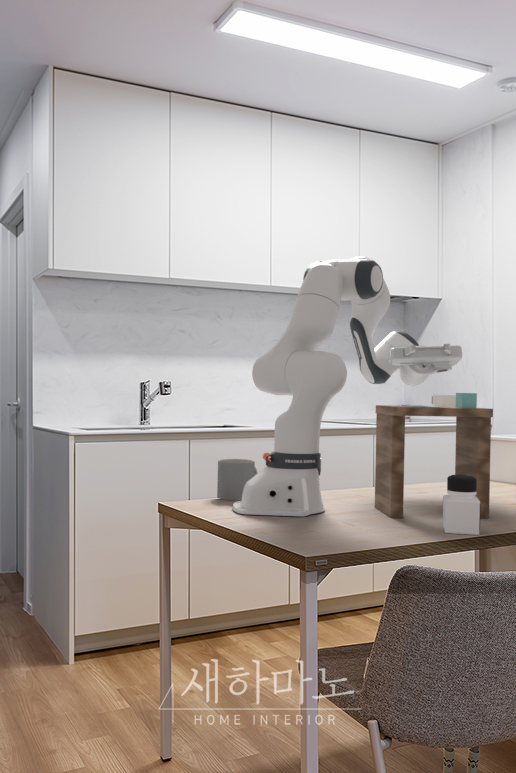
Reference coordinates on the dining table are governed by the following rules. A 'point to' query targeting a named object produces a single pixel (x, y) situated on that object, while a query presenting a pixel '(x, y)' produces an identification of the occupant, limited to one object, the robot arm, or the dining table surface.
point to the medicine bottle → (461, 506)
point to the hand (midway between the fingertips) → (430, 346)
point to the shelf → (468, 459)
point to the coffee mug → (234, 477)
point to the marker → (456, 400)
